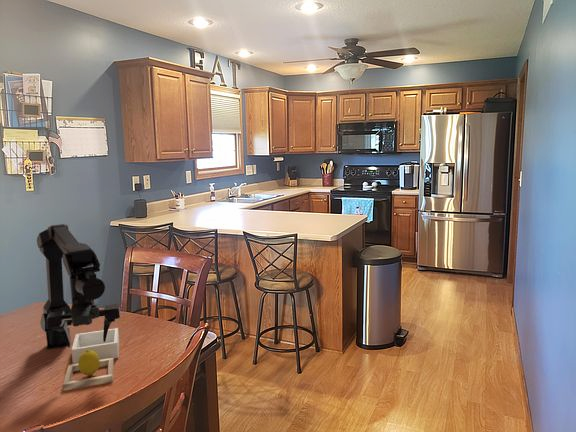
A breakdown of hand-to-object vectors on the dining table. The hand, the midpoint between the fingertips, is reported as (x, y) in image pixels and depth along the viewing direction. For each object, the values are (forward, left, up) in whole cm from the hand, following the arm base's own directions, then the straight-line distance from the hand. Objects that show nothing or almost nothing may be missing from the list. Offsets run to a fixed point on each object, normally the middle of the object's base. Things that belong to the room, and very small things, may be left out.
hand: (87, 344), depth 128 cm
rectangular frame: (0, 0, -10) cm, 10 cm away
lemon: (0, 0, -10) cm, 10 cm away
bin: (+1, +16, -10) cm, 19 cm away
